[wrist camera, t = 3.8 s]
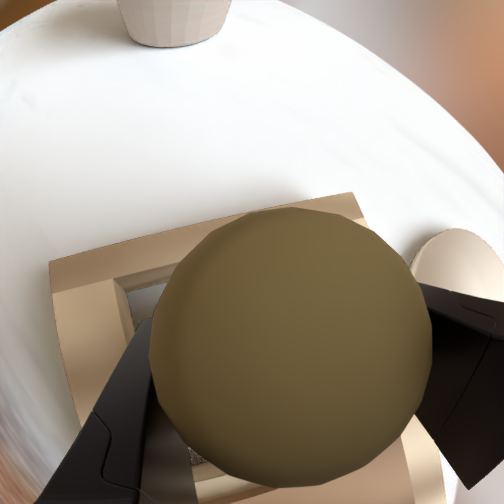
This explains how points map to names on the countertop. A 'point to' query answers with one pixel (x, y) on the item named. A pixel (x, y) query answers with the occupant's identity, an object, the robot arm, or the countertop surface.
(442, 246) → the ceramic pad
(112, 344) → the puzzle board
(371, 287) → the cork
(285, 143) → the countertop surface
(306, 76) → the countertop surface
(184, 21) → the potted plant
